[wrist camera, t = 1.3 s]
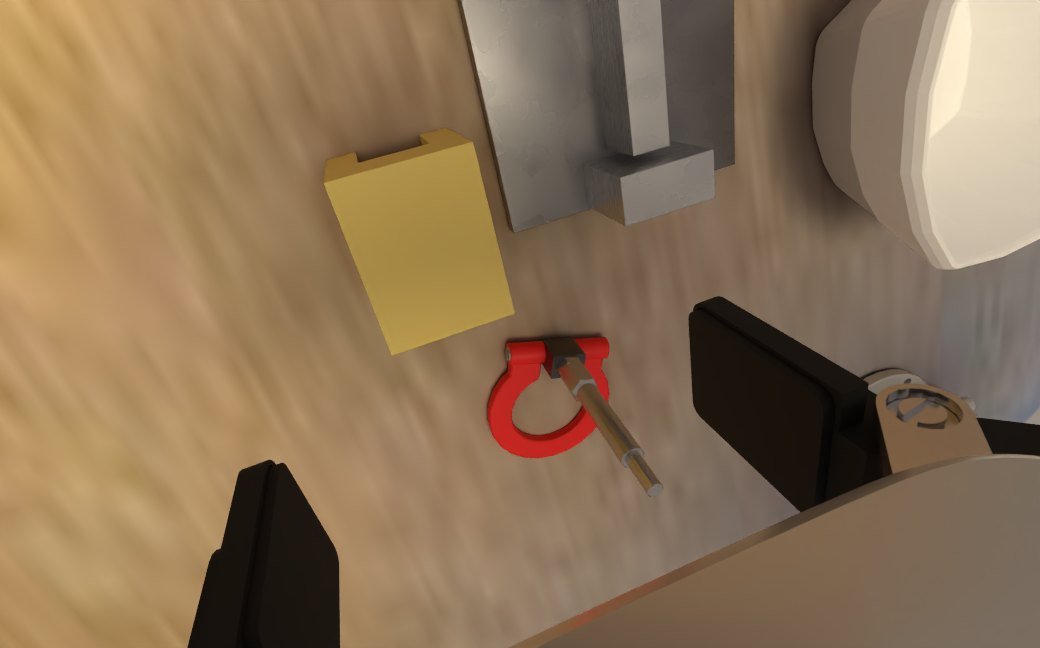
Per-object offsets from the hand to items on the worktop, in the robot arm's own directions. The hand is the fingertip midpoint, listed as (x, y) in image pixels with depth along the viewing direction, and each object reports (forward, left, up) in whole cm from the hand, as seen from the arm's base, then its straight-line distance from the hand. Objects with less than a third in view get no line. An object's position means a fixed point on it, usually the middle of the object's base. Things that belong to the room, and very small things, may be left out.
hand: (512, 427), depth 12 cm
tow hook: (-5, +14, -19) cm, 24 cm away
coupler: (-12, -7, -18) cm, 23 cm away
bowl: (-31, 0, -19) cm, 36 cm away
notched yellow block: (0, 0, -19) cm, 19 cm away
